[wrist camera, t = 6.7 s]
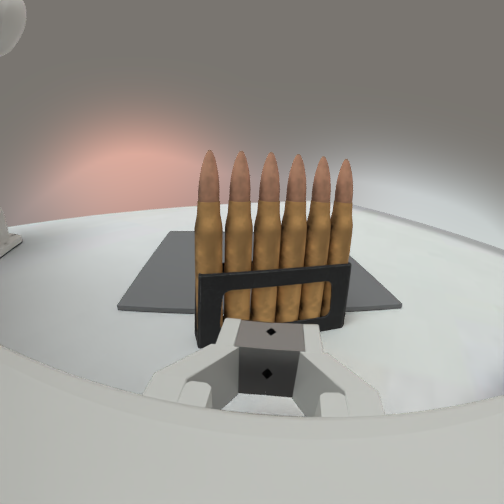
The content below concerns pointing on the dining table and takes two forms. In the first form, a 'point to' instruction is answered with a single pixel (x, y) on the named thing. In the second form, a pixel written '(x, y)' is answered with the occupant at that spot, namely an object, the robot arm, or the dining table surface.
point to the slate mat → (183, 296)
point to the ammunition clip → (272, 249)
